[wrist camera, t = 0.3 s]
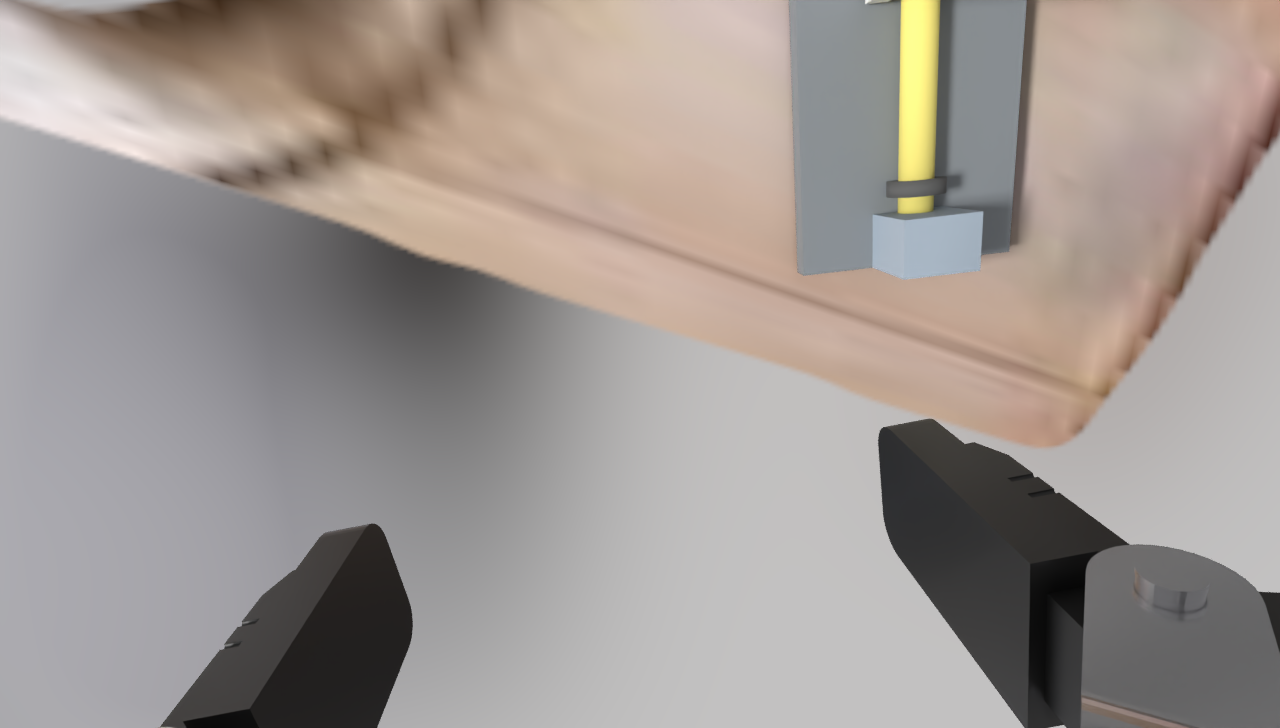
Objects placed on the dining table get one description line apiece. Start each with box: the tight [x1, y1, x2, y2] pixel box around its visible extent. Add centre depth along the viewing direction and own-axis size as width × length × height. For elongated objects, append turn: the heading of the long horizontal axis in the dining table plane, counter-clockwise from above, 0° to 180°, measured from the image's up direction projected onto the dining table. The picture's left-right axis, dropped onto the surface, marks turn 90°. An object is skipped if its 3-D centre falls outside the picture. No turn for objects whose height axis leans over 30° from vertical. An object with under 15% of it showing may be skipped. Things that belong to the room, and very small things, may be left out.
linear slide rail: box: [789, 0, 1027, 280], centre depth 32 cm, size 22×12×5 cm, turn 6°
